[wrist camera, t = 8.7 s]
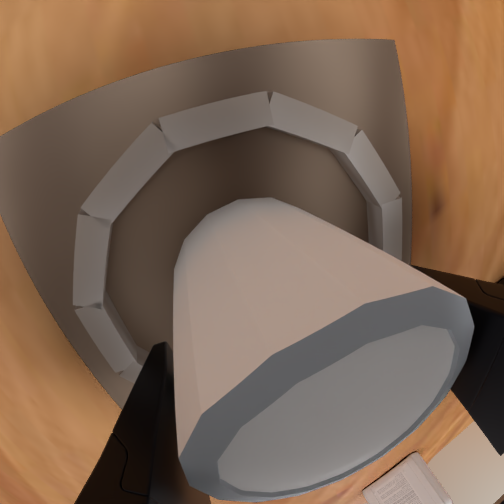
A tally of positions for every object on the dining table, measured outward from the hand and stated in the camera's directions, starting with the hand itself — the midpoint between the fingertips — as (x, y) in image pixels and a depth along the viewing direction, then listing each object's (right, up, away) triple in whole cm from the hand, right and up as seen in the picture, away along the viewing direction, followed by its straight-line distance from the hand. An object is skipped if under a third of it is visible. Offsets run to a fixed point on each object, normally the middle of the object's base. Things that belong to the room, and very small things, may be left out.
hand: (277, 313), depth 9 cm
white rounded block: (+19, -30, +24) cm, 43 cm away
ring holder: (-1, +1, +3) cm, 3 cm away
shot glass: (-1, +1, +2) cm, 3 cm away
